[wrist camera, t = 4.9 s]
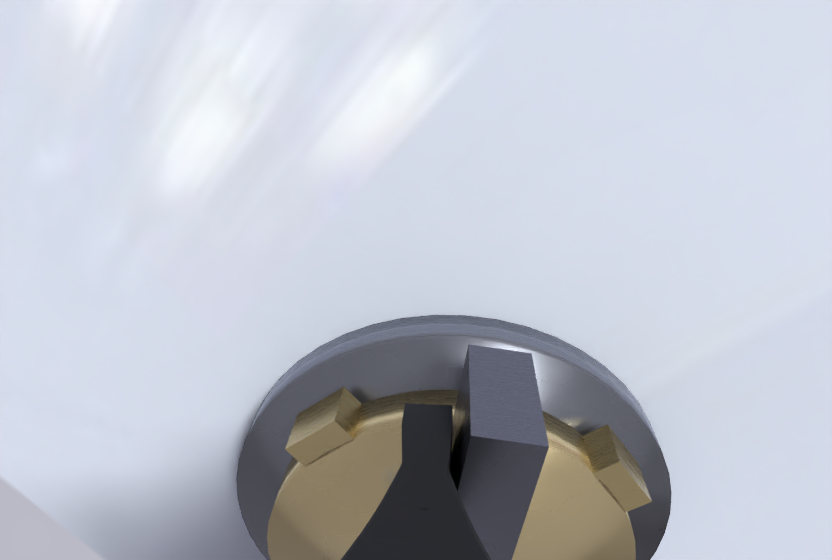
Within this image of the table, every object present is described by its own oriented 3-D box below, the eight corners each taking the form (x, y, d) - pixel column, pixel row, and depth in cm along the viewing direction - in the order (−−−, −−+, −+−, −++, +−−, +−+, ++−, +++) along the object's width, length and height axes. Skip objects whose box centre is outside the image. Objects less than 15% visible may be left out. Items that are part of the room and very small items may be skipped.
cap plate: (583, 633, 24) (589, 664, 23) (242, 576, 23) (232, 605, 22) (733, 362, 17) (751, 388, 16) (255, 275, 16) (241, 296, 15)
